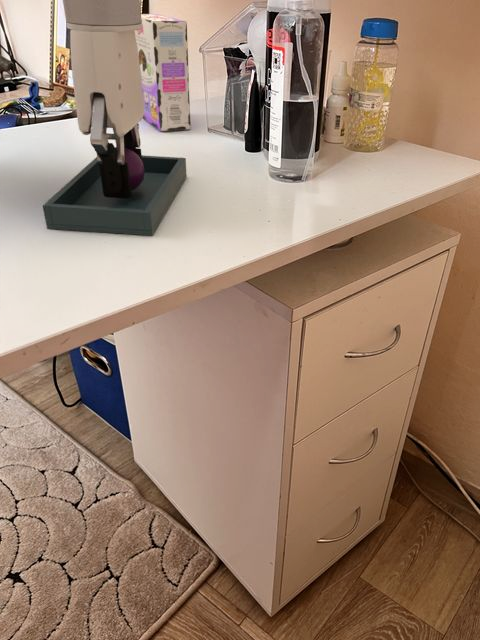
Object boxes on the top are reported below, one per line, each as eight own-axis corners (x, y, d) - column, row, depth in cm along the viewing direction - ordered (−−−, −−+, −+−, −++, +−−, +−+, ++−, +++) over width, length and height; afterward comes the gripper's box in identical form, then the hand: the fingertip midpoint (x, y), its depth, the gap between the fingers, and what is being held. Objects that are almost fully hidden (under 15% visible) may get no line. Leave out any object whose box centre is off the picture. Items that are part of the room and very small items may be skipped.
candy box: (192, 130, 93) (188, 20, 84) (160, 132, 91) (152, 20, 81) (166, 112, 103) (160, 12, 93) (136, 114, 101) (127, 12, 91)
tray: (47, 228, 58) (42, 205, 56) (103, 172, 74) (100, 152, 72) (152, 235, 57) (150, 212, 56) (186, 177, 73) (185, 157, 72)
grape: (98, 196, 63) (92, 153, 60) (111, 182, 67) (105, 141, 64) (140, 199, 63) (135, 156, 60) (150, 185, 67) (146, 143, 64)
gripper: (94, 5, 61) (115, 165, 72) (31, 16, 47) (68, 213, 58) (159, 7, 61) (170, 168, 71) (114, 20, 47) (136, 217, 58)
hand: (124, 187), depth 64 cm, fingers closed on grape, 4 cm apart
